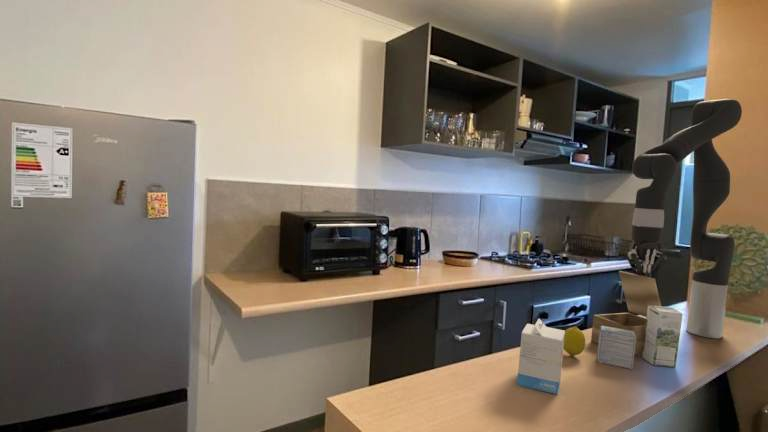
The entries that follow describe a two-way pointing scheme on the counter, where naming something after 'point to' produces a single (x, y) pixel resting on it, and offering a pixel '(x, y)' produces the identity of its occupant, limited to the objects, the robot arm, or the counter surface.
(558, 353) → the ink box
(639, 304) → the lid flap
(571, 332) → the lemon
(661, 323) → the syrup box
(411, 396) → the counter surface
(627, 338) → the medicine box
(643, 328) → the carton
